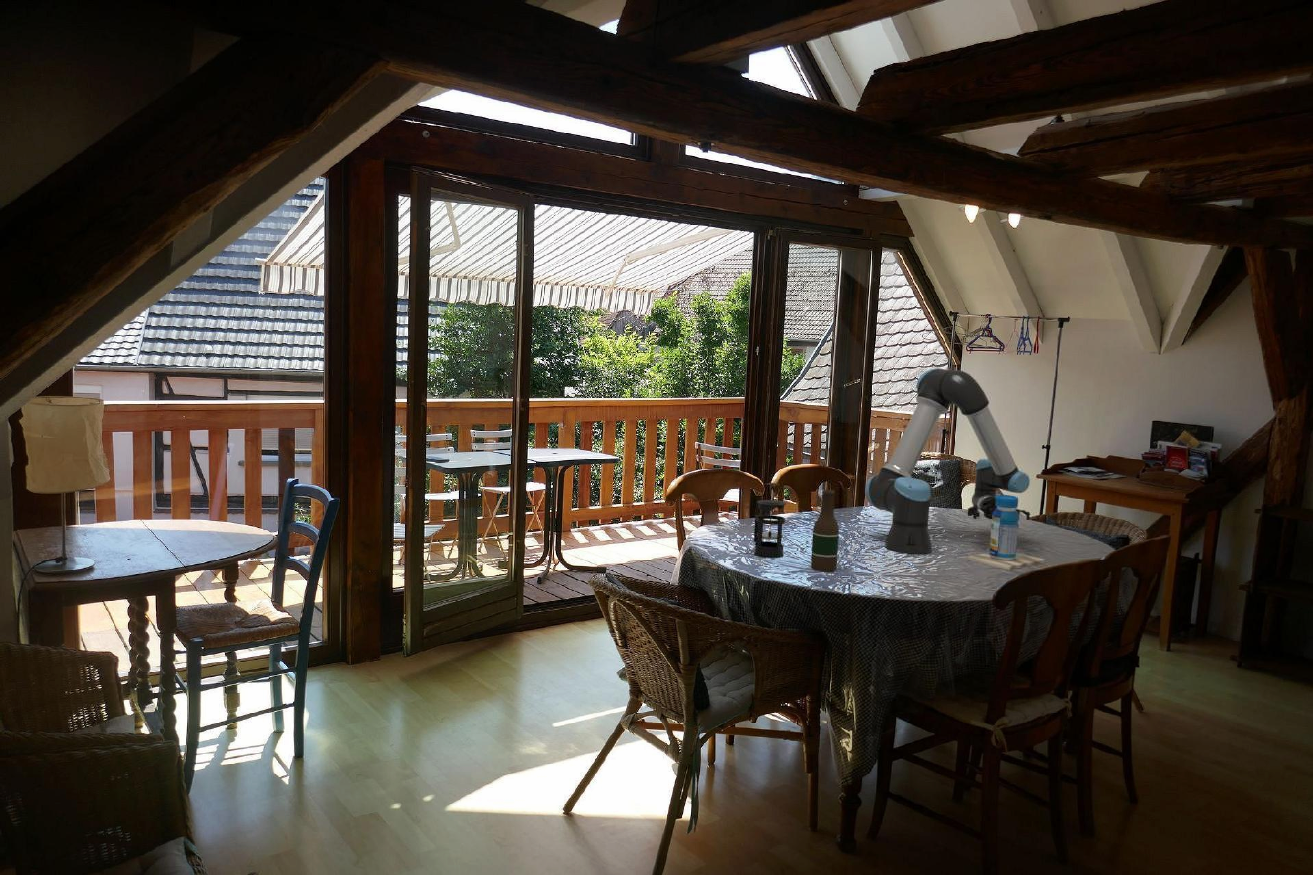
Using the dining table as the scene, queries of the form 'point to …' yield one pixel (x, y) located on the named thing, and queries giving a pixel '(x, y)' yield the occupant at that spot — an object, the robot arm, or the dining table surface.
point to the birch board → (1006, 561)
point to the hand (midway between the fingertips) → (1003, 518)
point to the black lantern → (766, 547)
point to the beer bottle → (825, 536)
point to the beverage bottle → (1004, 528)
